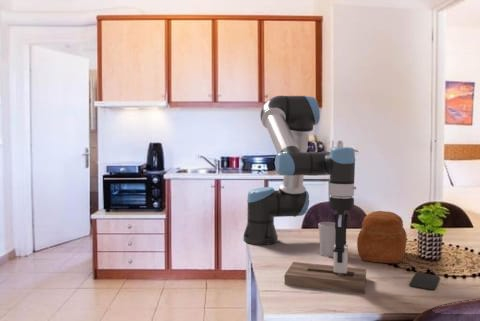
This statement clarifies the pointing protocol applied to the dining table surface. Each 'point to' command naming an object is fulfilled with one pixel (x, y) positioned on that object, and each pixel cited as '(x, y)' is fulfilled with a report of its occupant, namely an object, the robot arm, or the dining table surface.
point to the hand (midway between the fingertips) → (340, 269)
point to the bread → (382, 238)
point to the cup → (327, 238)
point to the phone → (424, 281)
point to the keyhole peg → (344, 262)
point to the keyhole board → (325, 277)
